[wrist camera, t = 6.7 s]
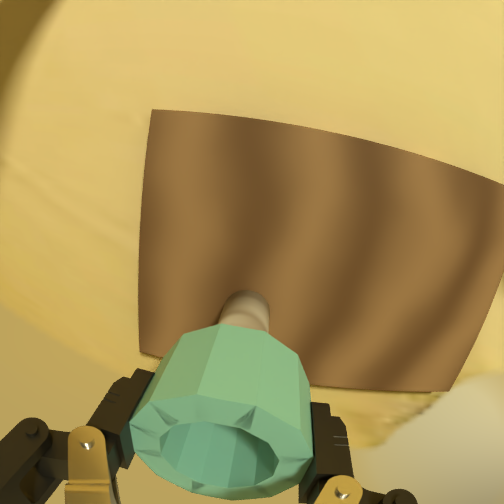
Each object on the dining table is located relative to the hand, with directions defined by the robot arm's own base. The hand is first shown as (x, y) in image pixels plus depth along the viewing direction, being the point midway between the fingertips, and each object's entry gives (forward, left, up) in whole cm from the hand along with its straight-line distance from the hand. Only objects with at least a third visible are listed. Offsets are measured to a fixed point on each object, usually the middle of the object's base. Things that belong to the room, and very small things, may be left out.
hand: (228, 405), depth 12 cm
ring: (0, 0, -1) cm, 1 cm away
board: (+5, +3, -10) cm, 11 cm away
